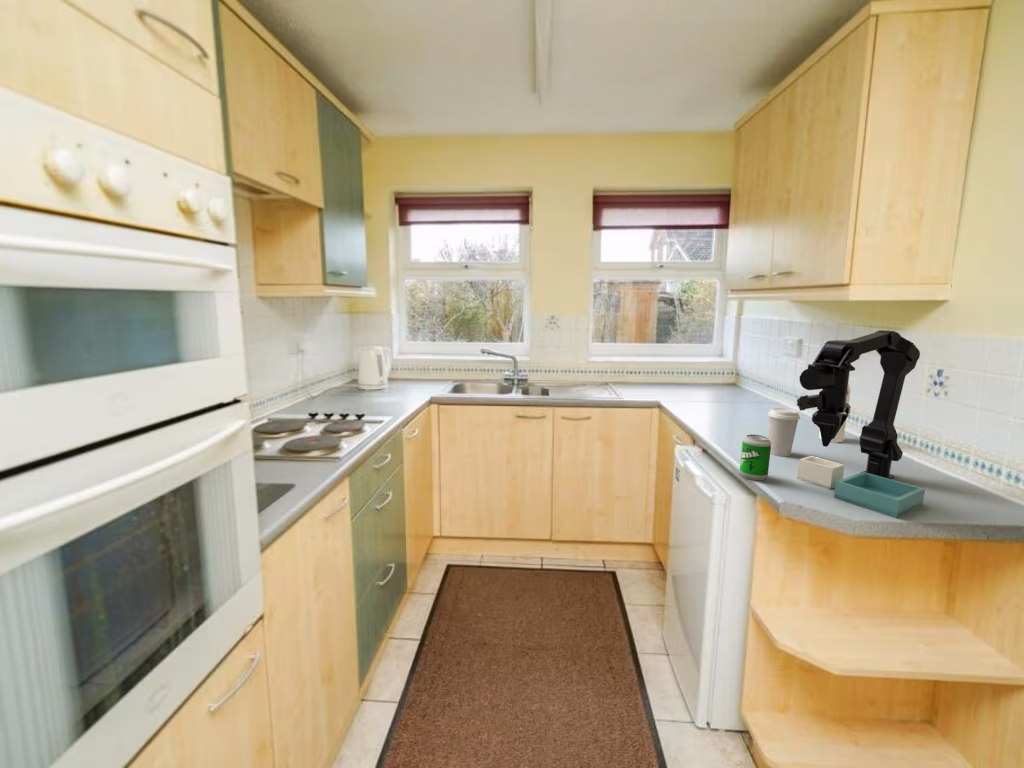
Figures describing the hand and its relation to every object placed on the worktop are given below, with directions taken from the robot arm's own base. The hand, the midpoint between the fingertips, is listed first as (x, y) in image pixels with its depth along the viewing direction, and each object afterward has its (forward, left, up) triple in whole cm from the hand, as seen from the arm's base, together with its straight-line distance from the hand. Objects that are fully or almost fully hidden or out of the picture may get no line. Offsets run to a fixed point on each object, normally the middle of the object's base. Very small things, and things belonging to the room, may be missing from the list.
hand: (828, 442), depth 136 cm
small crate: (-2, -2, -13) cm, 13 cm away
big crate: (-1, +13, -13) cm, 18 cm away
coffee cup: (-18, -23, -13) cm, 31 cm away
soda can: (+11, -14, -13) cm, 22 cm away
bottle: (-52, -23, -13) cm, 58 cm away
